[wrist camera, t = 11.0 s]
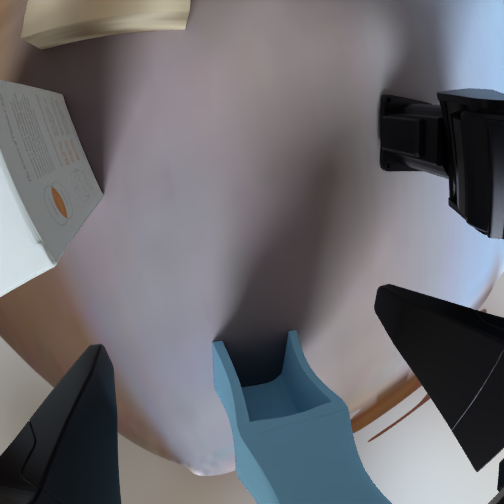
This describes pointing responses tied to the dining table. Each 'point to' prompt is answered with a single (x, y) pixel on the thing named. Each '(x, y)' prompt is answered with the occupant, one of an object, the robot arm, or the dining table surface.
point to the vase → (292, 435)
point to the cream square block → (98, 19)
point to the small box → (39, 183)
